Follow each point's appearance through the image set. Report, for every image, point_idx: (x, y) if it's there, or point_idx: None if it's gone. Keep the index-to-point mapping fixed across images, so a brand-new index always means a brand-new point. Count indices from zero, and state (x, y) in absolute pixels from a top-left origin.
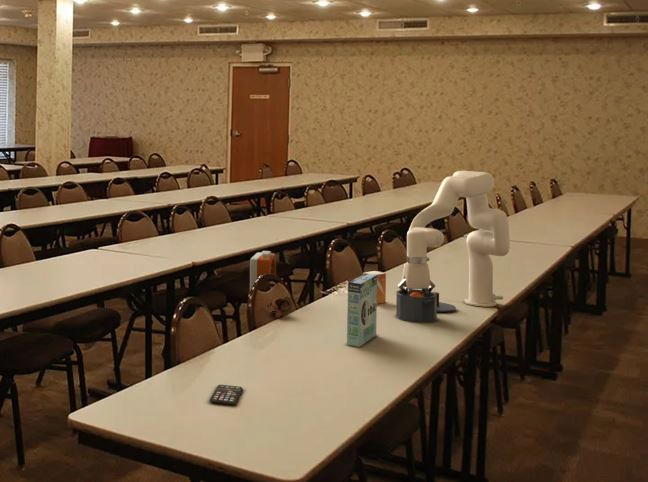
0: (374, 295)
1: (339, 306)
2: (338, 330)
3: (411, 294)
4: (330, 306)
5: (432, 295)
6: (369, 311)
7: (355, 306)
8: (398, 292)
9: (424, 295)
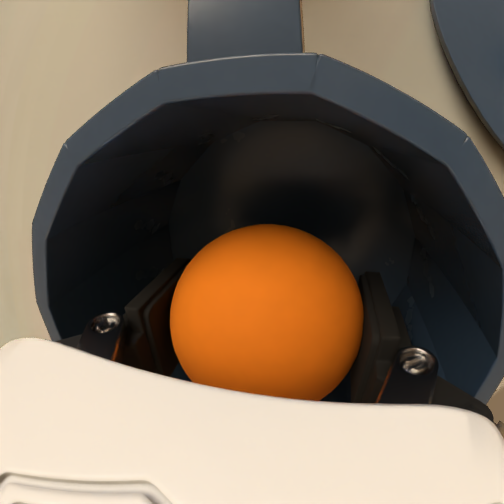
0: None
1: (23, 8)
2: (4, 327)
3: (180, 360)
4: (4, 21)
5: (464, 376)
6: None
7: None
8: (45, 285)
9: (355, 394)
